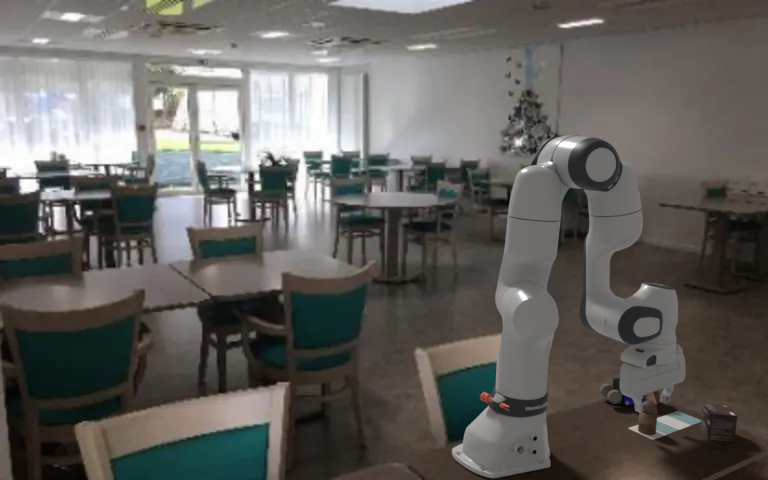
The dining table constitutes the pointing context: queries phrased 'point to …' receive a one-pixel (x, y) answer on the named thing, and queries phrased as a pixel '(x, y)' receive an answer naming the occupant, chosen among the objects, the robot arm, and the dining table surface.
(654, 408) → the brown rounded cylinder
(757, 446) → the dining table surface
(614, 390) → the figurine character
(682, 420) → the board
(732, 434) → the box
